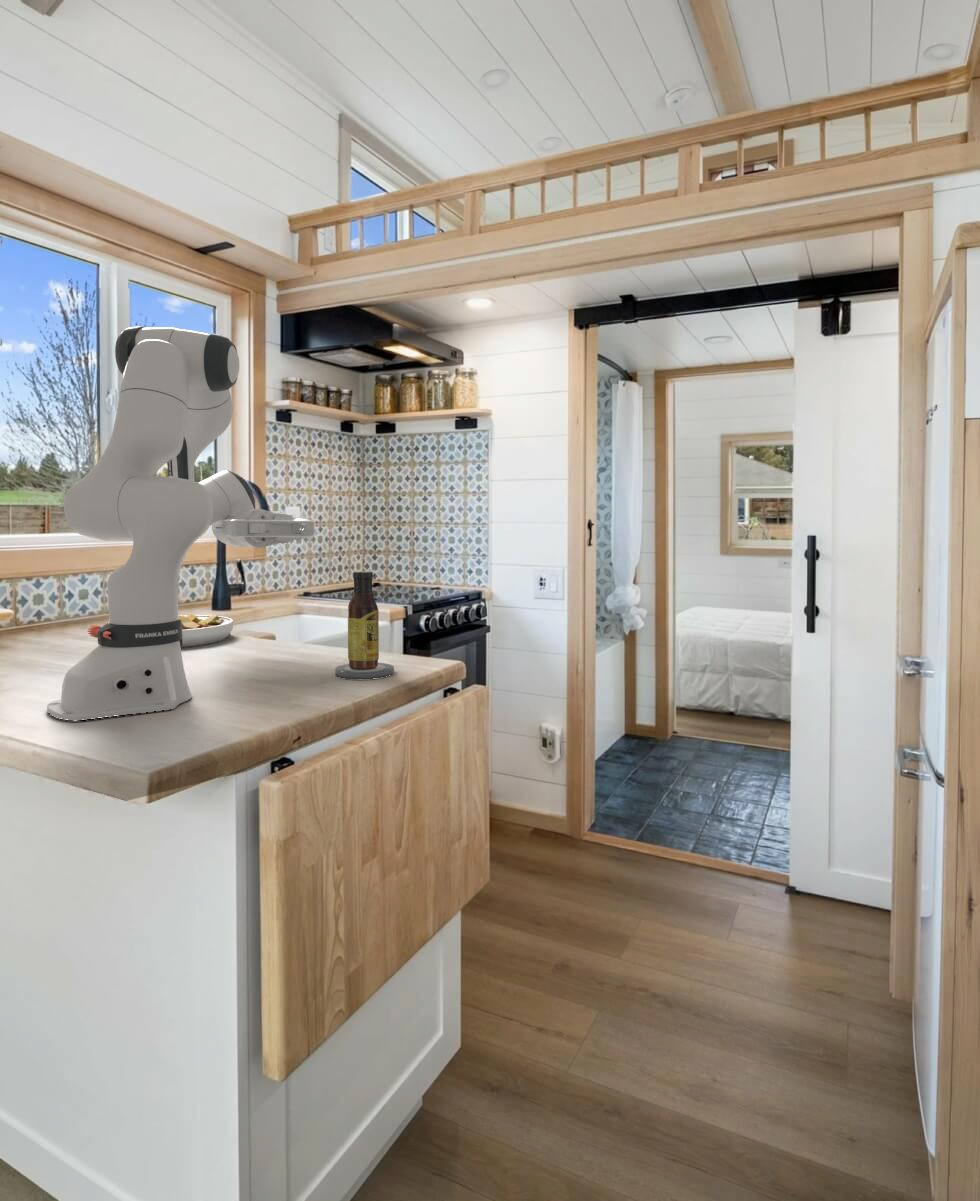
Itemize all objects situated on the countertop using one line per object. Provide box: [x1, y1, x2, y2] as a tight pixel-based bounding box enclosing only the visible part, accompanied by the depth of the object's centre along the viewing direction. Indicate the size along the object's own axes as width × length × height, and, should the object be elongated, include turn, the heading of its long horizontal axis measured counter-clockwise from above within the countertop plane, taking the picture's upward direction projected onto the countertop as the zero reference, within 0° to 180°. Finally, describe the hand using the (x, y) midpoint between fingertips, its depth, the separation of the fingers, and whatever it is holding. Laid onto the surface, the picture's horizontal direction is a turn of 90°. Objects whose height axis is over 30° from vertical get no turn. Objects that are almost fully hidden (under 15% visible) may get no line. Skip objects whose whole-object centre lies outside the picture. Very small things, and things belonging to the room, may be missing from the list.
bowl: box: [178, 613, 234, 648], centre depth 199 cm, size 30×30×8 cm
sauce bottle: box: [347, 570, 380, 670], centre depth 157 cm, size 6×6×20 cm
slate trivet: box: [334, 662, 395, 680], centre depth 158 cm, size 12×12×1 cm
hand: (286, 528), depth 165 cm, fingers open, 8 cm apart
